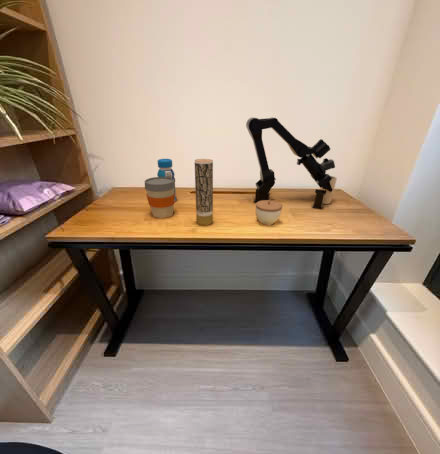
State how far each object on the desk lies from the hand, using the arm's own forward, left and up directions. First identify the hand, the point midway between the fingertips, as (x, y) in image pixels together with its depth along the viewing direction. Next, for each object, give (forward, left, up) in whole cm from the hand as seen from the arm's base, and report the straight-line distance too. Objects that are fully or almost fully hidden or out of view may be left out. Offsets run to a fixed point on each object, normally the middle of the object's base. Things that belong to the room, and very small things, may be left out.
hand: (329, 189), depth 125 cm
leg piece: (-4, -9, -7) cm, 12 cm away
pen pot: (-1, 0, -7) cm, 7 cm away
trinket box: (-23, -36, -7) cm, 44 cm away
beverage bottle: (-75, -30, -7) cm, 81 cm away
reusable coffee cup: (-68, -46, -7) cm, 83 cm away
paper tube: (-47, -47, -7) cm, 67 cm away
